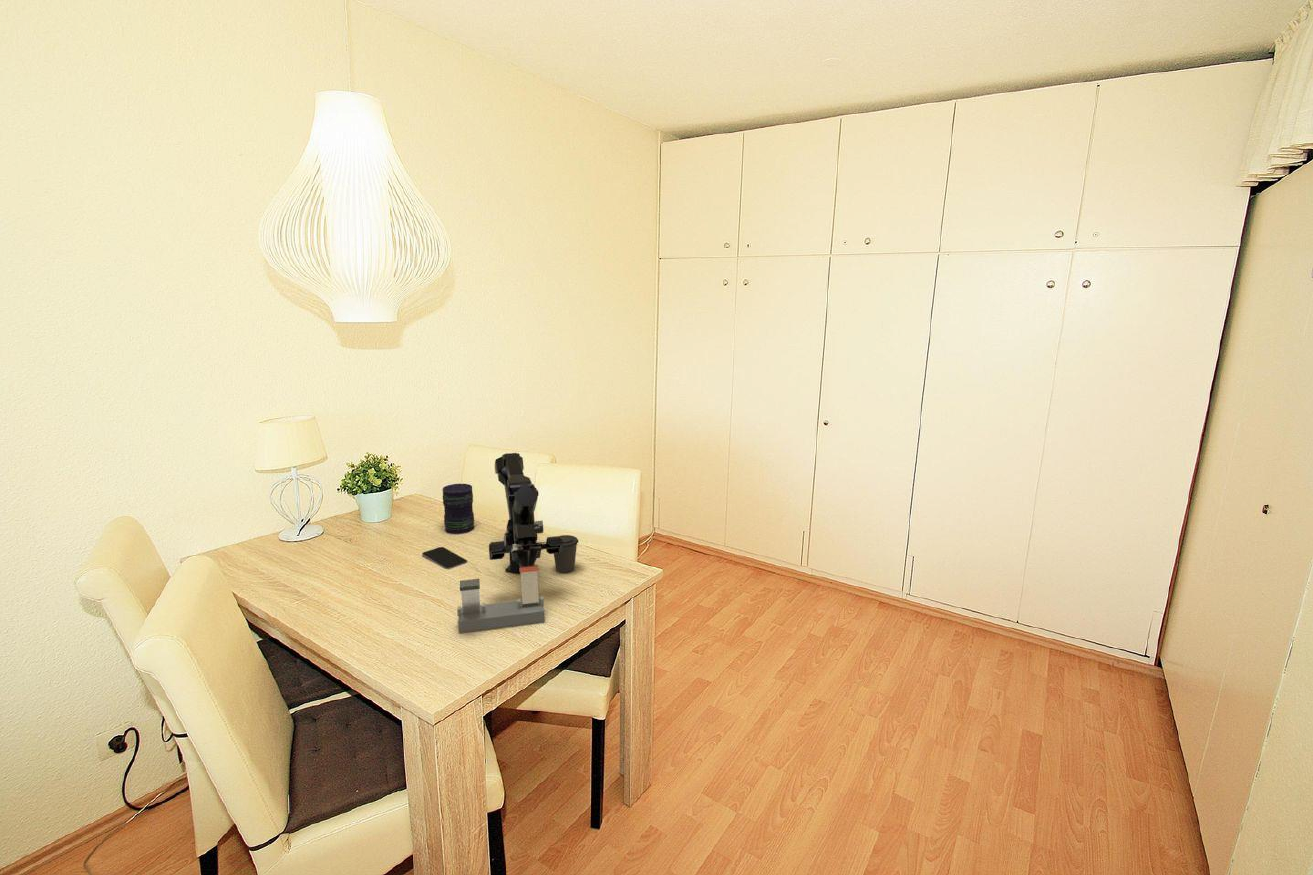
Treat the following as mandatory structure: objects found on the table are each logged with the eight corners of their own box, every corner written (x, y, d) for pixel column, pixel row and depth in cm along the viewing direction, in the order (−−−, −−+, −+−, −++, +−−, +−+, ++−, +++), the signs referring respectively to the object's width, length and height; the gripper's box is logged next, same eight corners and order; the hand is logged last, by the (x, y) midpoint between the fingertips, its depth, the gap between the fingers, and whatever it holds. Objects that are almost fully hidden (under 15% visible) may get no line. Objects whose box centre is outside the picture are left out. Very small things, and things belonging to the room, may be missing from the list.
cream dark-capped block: (462, 607, 141) (459, 580, 137) (480, 605, 142) (479, 578, 138) (461, 614, 139) (459, 587, 135) (481, 612, 140) (479, 585, 136)
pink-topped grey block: (521, 602, 145) (519, 566, 146) (539, 600, 147) (537, 564, 147) (521, 604, 143) (519, 567, 144) (539, 602, 144) (537, 565, 145)
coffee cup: (545, 571, 171) (544, 539, 168) (562, 561, 178) (561, 530, 175) (568, 577, 167) (567, 545, 165) (584, 567, 174) (584, 535, 172)
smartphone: (446, 568, 170) (420, 553, 180) (447, 572, 171) (420, 556, 180) (468, 561, 176) (442, 546, 185) (469, 564, 176) (442, 549, 185)
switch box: (458, 618, 144) (457, 600, 143) (542, 608, 150) (542, 590, 149) (457, 633, 137) (456, 615, 136) (545, 621, 143) (544, 604, 142)
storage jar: (480, 526, 204) (478, 485, 201) (461, 536, 195) (459, 493, 192) (458, 522, 208) (455, 482, 205) (438, 531, 199) (435, 489, 196)
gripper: (487, 513, 147) (490, 571, 140) (561, 507, 153) (567, 563, 145) (488, 531, 157) (490, 587, 149) (557, 525, 162) (564, 579, 154)
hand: (528, 579), depth 149 cm, fingers closed
